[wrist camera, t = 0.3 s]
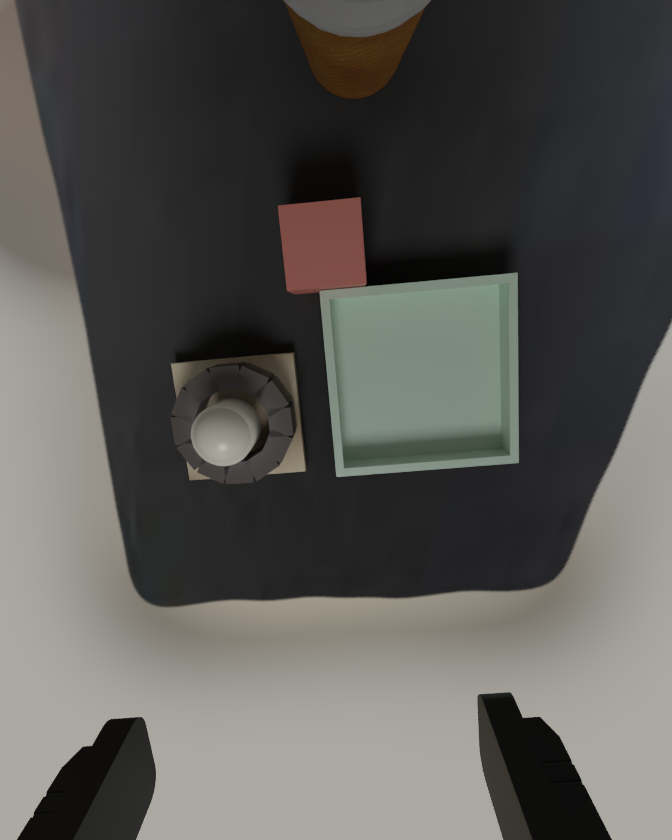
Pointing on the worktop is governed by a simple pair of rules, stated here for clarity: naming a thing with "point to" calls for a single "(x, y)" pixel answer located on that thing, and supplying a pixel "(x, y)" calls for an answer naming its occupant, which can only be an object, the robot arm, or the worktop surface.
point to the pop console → (264, 390)
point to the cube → (323, 245)
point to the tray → (423, 374)
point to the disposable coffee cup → (354, 40)
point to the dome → (226, 431)
